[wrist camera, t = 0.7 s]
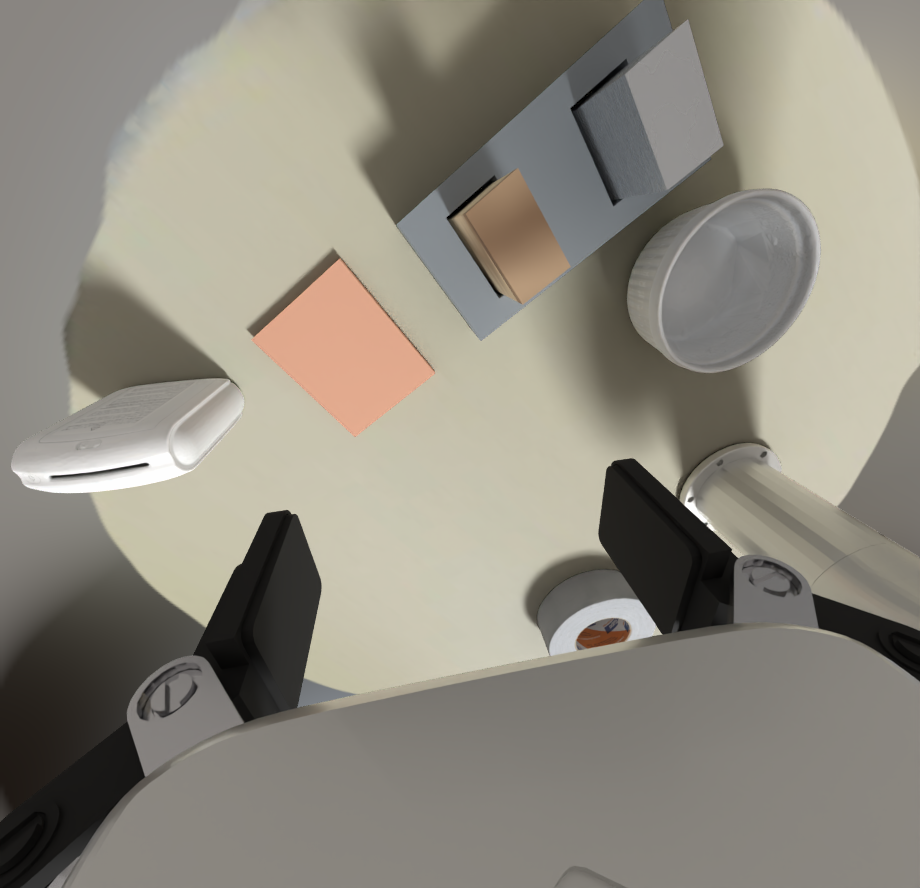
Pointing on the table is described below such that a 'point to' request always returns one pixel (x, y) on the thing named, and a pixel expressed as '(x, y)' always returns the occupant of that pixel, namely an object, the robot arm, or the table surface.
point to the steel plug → (651, 119)
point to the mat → (344, 350)
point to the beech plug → (510, 238)
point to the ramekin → (725, 279)
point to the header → (539, 177)
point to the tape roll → (592, 613)
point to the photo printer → (131, 437)
